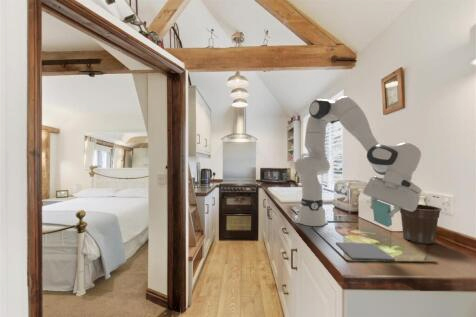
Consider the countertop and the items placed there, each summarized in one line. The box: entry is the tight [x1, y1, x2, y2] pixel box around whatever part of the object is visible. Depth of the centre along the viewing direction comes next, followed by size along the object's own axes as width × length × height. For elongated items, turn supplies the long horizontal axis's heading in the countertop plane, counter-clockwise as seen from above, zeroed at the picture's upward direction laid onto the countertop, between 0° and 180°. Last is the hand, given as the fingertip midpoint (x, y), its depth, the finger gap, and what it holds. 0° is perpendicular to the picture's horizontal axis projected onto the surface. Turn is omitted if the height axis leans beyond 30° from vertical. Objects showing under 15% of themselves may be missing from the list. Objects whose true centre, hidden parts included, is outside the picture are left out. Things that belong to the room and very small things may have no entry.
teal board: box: [372, 200, 393, 228], centre depth 95 cm, size 2×6×9 cm, turn 24°
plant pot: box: [399, 203, 442, 245], centre depth 112 cm, size 16×16×16 cm
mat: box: [335, 241, 396, 261], centre depth 96 cm, size 16×16×1 cm
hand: (380, 212), depth 95 cm, fingers closed on teal board, 6 cm apart
